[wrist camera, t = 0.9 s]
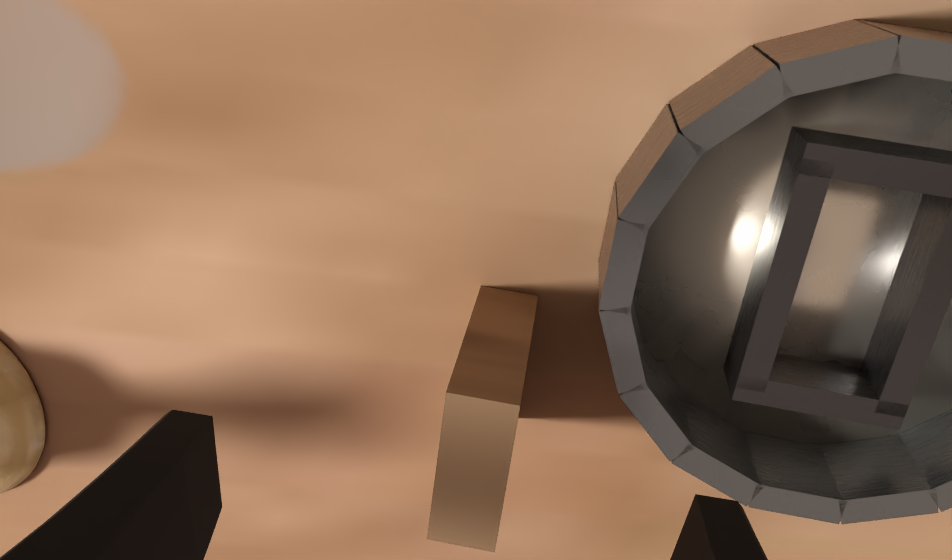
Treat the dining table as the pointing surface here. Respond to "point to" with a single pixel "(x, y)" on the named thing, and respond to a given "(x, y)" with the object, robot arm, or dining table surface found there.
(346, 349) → the dining table surface
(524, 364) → the tan wooden block
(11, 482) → the hand bell
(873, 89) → the grey metal bowl
